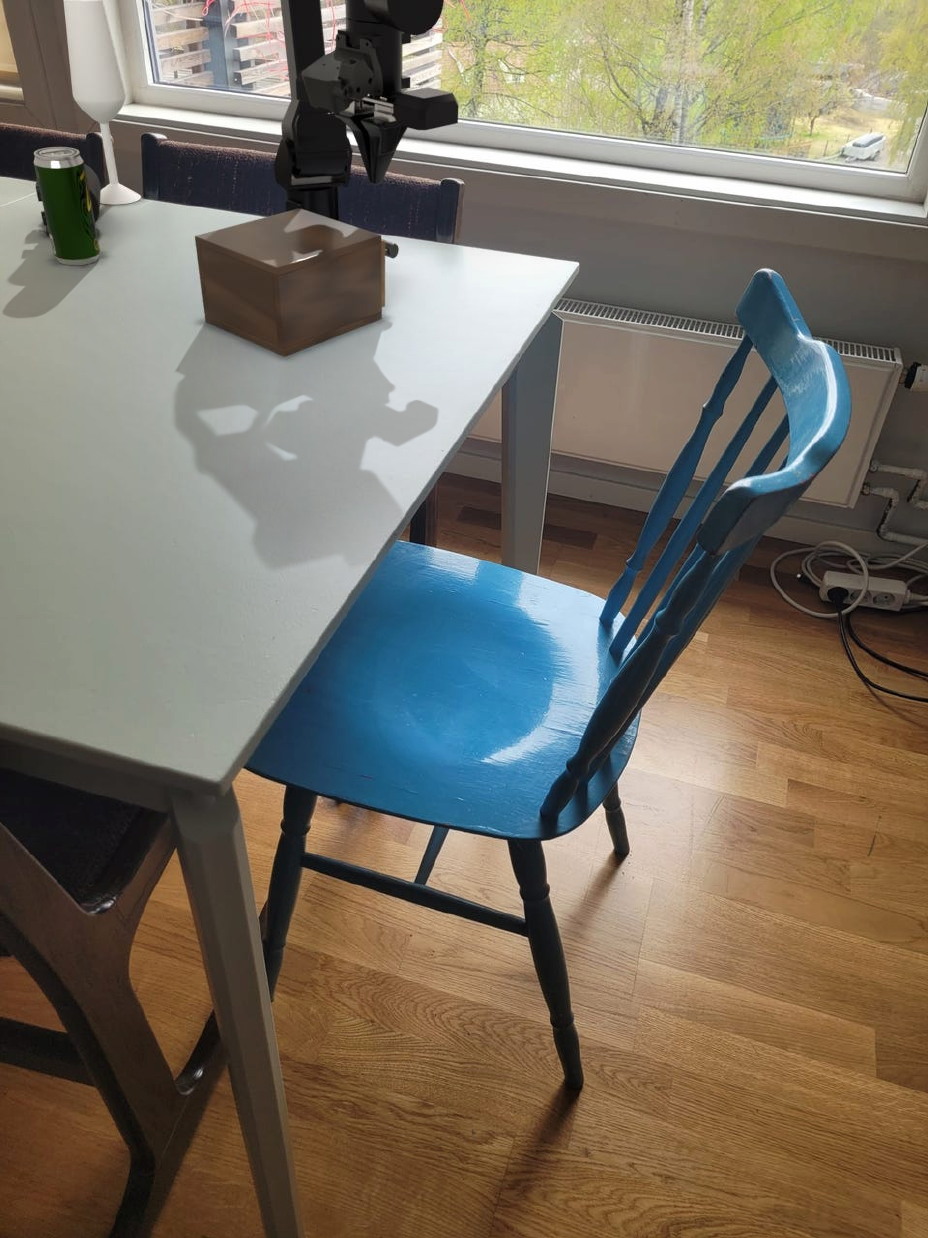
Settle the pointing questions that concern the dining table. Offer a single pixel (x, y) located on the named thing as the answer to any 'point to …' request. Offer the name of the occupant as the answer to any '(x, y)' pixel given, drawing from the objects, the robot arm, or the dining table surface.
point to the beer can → (67, 205)
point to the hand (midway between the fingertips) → (375, 183)
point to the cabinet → (290, 279)
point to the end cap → (93, 191)
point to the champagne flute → (97, 81)
